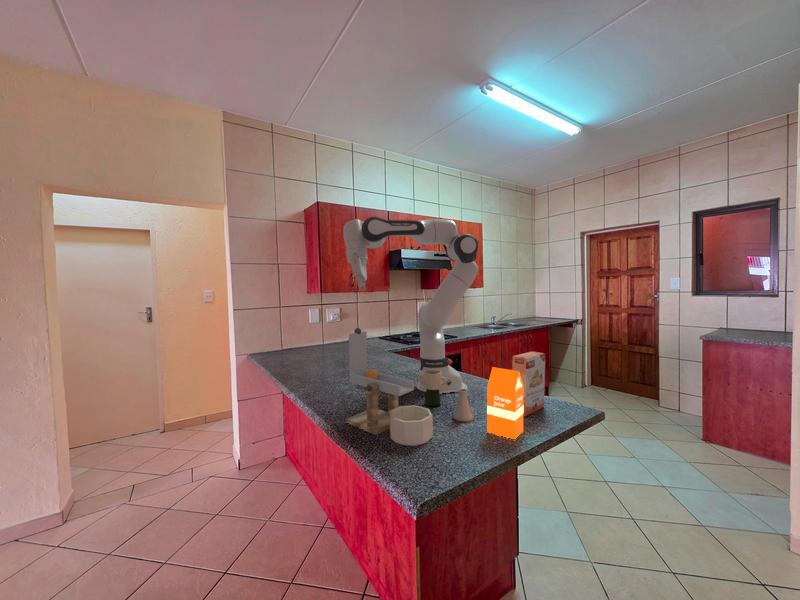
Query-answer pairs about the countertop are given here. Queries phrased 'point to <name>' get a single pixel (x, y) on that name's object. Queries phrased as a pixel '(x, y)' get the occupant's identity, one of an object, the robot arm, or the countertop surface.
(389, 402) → the trough stand
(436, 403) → the character mug
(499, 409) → the orange juice
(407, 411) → the cup
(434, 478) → the countertop surface
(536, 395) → the cracker box
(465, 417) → the flask
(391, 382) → the tipping trough
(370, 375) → the ball
